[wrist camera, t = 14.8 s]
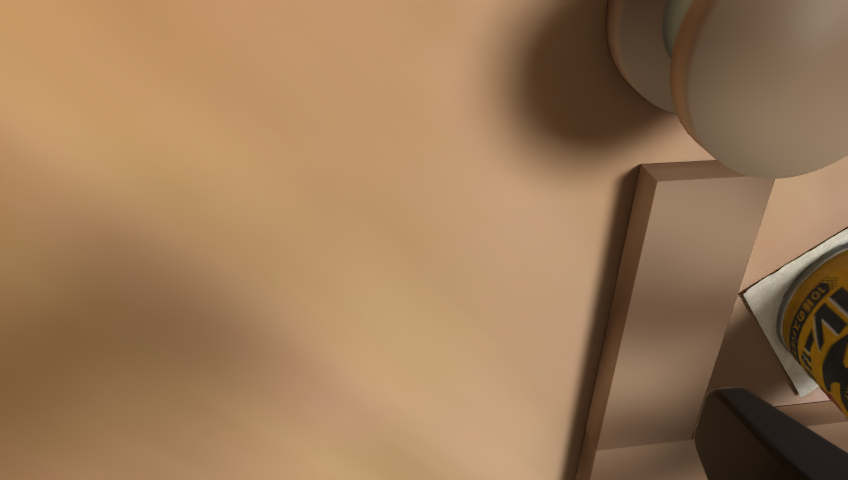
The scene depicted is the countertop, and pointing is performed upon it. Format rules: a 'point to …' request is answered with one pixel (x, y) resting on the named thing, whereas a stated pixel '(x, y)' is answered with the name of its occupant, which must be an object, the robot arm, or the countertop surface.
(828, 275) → the condiment
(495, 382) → the countertop surface
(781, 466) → the robot arm
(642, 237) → the brown frame
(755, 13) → the spool
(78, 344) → the countertop surface
